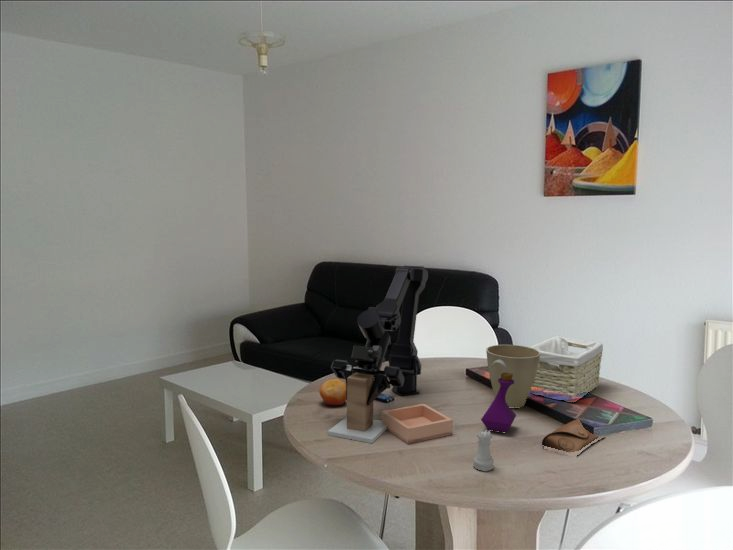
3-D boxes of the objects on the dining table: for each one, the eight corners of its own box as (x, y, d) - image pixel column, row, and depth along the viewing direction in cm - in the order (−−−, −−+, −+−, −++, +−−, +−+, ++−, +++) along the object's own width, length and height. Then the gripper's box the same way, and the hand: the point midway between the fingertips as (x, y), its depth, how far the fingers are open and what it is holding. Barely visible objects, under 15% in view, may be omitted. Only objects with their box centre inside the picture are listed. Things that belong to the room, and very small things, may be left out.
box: (423, 417, 147) (424, 403, 147) (452, 434, 136) (452, 419, 135) (381, 425, 141) (381, 411, 141) (407, 444, 130) (407, 428, 129)
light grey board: (348, 418, 146) (348, 415, 146) (390, 425, 141) (390, 422, 141) (327, 434, 135) (327, 431, 135) (372, 443, 130) (372, 439, 130)
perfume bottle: (516, 426, 141) (518, 358, 139) (510, 437, 134) (513, 366, 132) (487, 422, 144) (489, 355, 142) (480, 432, 137) (482, 362, 135)
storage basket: (575, 407, 156) (578, 356, 155) (522, 394, 167) (524, 347, 165) (602, 387, 174) (605, 342, 173) (553, 377, 185) (555, 334, 183)
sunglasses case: (576, 459, 122) (563, 430, 124) (550, 466, 127) (537, 437, 128) (607, 436, 135) (594, 410, 137) (582, 443, 139) (570, 418, 141)
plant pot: (480, 409, 153) (481, 354, 152) (489, 393, 167) (490, 342, 165) (535, 417, 148) (538, 359, 146) (540, 400, 161) (542, 347, 160)
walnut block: (355, 421, 141) (355, 372, 139) (372, 424, 139) (373, 375, 137) (346, 428, 136) (347, 377, 135) (364, 431, 134) (365, 380, 133)
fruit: (350, 392, 163) (348, 374, 158) (347, 414, 156) (345, 395, 151) (323, 391, 163) (320, 373, 159) (319, 413, 157) (316, 394, 152)
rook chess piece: (470, 463, 120) (471, 427, 119) (490, 462, 120) (491, 427, 120) (476, 472, 116) (477, 436, 115) (496, 471, 116) (498, 435, 115)
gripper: (334, 329, 142) (313, 381, 134) (401, 336, 135) (383, 392, 126) (347, 352, 150) (328, 403, 142) (411, 359, 143) (395, 414, 134)
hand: (357, 402), depth 136 cm, fingers closed on walnut block, 5 cm apart
